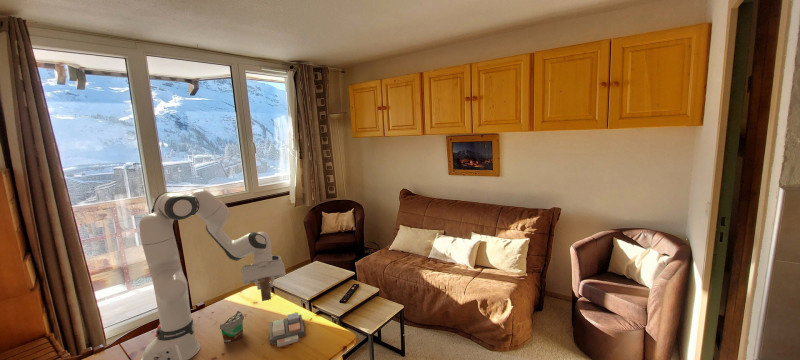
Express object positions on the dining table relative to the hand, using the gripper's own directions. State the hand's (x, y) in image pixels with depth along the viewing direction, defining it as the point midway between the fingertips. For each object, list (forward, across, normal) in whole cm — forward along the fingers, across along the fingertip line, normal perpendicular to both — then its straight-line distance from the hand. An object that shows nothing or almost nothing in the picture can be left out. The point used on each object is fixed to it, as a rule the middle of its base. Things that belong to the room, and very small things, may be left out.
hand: (265, 287), depth 160 cm
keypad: (+22, +8, +5) cm, 24 cm away
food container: (+17, -14, +10) cm, 25 cm away
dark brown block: (+4, 0, +5) cm, 6 cm away
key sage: (+18, +4, +8) cm, 20 cm away
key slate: (+17, +11, +7) cm, 21 cm away
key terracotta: (+23, +11, +3) cm, 26 cm away
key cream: (+22, +4, +2) cm, 22 cm away
